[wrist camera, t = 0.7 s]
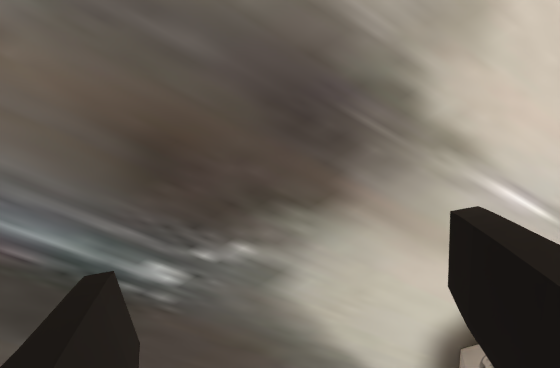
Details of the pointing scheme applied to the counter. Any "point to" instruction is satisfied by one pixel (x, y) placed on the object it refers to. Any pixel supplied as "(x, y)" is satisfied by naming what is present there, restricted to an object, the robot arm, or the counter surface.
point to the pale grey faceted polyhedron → (474, 358)
